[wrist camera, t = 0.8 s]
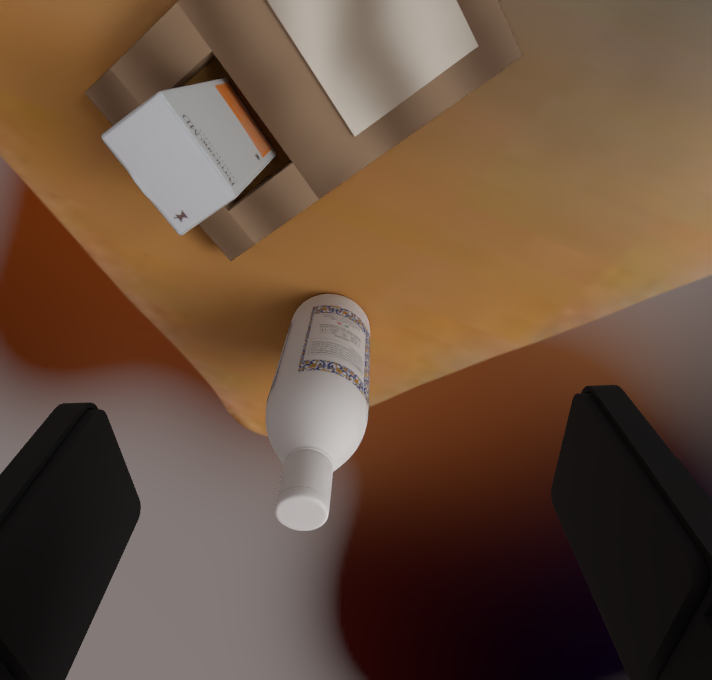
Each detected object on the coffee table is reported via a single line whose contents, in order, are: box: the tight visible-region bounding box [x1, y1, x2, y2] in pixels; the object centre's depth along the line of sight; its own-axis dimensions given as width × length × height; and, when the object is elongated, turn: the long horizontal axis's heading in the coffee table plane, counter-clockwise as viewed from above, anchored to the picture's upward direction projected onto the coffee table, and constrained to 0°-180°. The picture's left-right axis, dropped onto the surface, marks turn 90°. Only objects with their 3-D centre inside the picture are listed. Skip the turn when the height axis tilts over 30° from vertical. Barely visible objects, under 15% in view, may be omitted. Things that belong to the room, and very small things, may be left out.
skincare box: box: [101, 78, 276, 236], centre depth 30 cm, size 6×4×12 cm
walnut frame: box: [85, 0, 523, 261], centre depth 31 cm, size 24×14×3 cm, turn 125°
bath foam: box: [266, 294, 370, 531], centre depth 34 cm, size 7×7×20 cm
